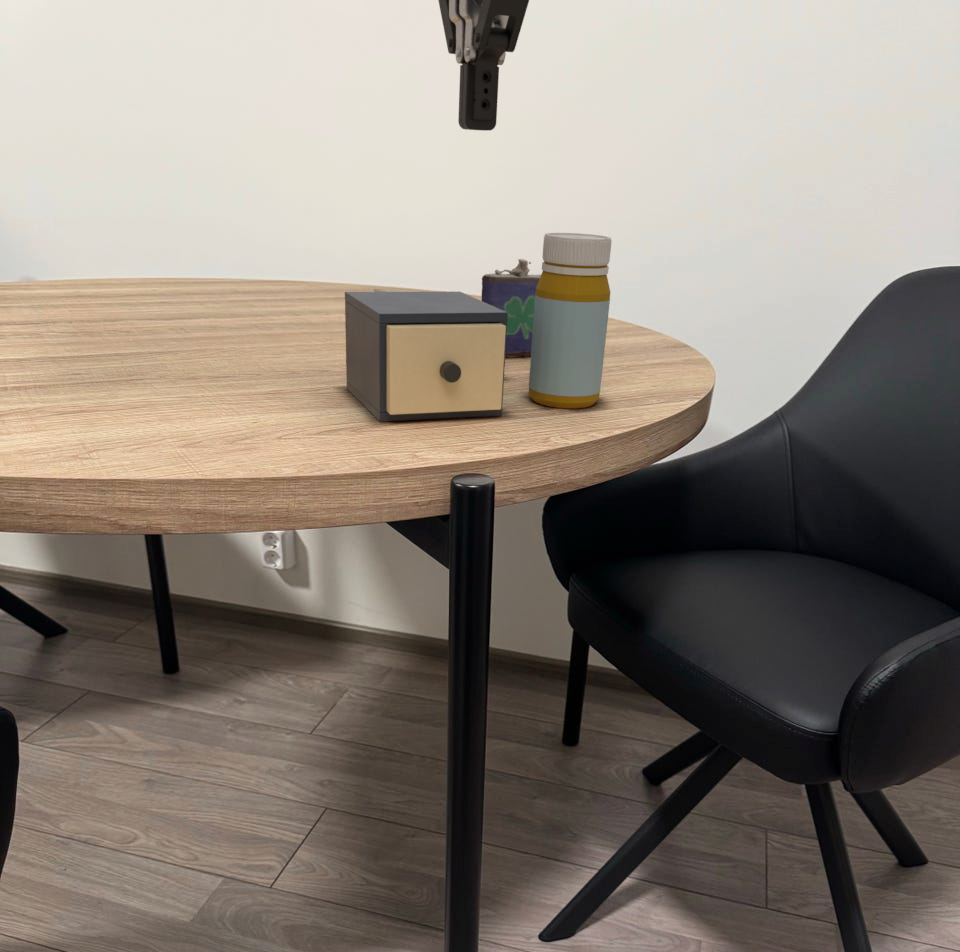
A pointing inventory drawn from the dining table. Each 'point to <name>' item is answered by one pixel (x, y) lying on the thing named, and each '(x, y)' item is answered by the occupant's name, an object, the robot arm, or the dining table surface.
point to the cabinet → (369, 340)
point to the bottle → (570, 320)
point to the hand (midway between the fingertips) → (477, 129)
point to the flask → (514, 304)
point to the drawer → (444, 367)
